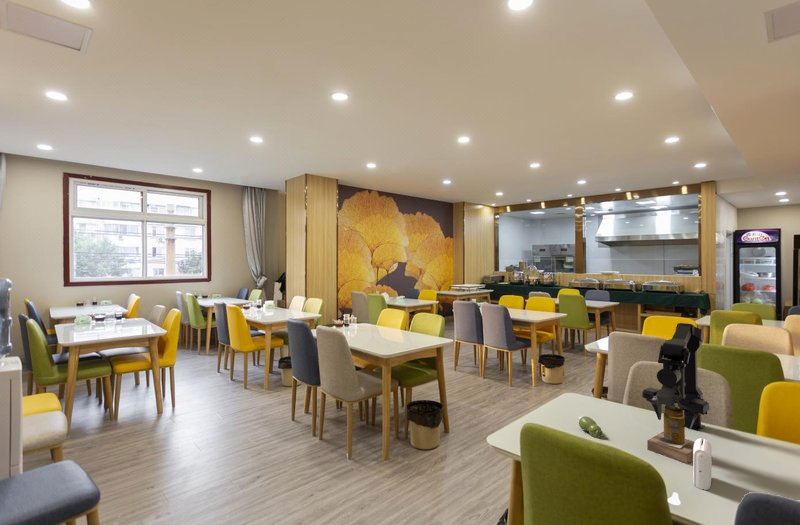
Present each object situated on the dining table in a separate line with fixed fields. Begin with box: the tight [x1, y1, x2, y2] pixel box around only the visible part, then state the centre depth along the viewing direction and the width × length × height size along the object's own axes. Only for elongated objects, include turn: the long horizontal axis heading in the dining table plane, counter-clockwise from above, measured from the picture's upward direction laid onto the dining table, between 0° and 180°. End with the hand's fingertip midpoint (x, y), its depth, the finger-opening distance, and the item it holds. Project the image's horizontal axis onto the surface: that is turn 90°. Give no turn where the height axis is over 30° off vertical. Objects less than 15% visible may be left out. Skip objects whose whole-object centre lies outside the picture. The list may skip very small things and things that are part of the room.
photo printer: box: [692, 437, 713, 491], centre depth 120 cm, size 10×4×12 cm, turn 140°
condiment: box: [656, 404, 690, 448], centre depth 138 cm, size 7×8×12 cm
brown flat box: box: [646, 431, 695, 465], centre depth 138 cm, size 12×12×4 cm
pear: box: [578, 416, 604, 438], centre depth 154 cm, size 6×5×10 cm
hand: (674, 424), depth 138 cm, fingers open, 9 cm apart
